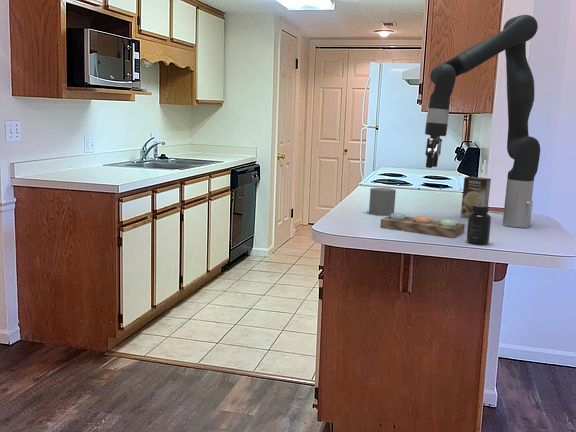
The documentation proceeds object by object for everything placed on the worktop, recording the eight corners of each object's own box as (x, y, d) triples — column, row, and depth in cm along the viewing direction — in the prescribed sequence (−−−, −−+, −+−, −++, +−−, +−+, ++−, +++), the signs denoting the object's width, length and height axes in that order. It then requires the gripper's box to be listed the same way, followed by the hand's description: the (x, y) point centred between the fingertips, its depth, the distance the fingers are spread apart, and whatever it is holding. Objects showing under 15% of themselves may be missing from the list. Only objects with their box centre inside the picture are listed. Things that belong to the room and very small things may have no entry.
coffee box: (459, 217, 230) (463, 177, 227) (464, 215, 235) (468, 176, 232) (482, 220, 225) (486, 179, 222) (487, 218, 230) (491, 178, 227)
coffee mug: (396, 216, 227) (398, 191, 225) (371, 215, 227) (372, 190, 225) (389, 210, 240) (391, 186, 238) (365, 209, 240) (367, 186, 238)
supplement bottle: (471, 239, 189) (474, 203, 187) (492, 243, 184) (495, 205, 182) (462, 242, 183) (466, 205, 181) (483, 246, 179) (487, 208, 177)
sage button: (457, 229, 197) (457, 220, 197) (453, 231, 193) (453, 222, 193) (442, 227, 200) (443, 218, 199) (438, 229, 196) (439, 220, 195)
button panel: (463, 232, 200) (464, 223, 199) (454, 238, 190) (454, 229, 189) (393, 222, 213) (393, 214, 213) (380, 227, 203) (380, 219, 202)
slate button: (406, 222, 207) (407, 214, 206) (401, 224, 202) (402, 215, 202) (393, 220, 209) (394, 212, 209) (388, 222, 205) (388, 214, 204)
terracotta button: (431, 225, 202) (432, 217, 201) (426, 227, 198) (427, 219, 197) (417, 223, 204) (418, 215, 204) (412, 225, 200) (413, 217, 200)
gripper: (443, 122, 199) (437, 169, 202) (451, 123, 212) (445, 167, 214) (422, 120, 202) (416, 167, 205) (430, 121, 215) (425, 165, 217)
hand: (431, 167), depth 210 cm, fingers open, 8 cm apart
